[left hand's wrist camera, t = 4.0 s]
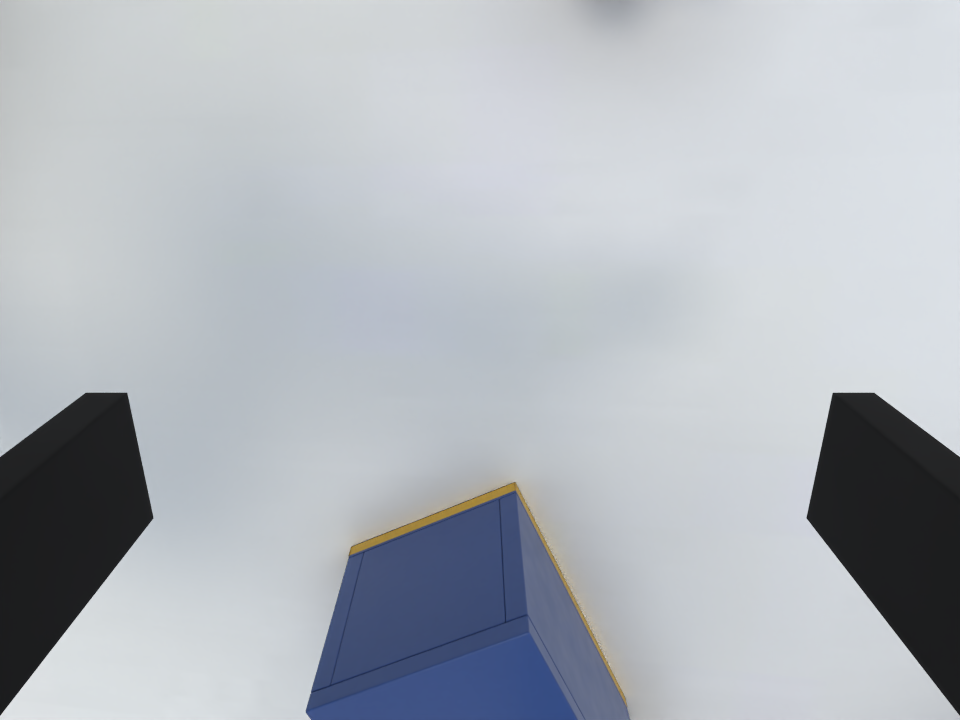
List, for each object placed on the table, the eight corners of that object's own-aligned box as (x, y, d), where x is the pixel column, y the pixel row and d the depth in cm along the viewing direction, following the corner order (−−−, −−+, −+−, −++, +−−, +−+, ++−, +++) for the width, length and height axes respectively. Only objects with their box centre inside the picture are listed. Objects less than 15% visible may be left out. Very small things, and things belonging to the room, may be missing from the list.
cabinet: (624, 696, 46) (671, 888, 35) (478, 745, 48) (478, 943, 37) (515, 482, 40) (529, 631, 29) (351, 546, 41) (304, 712, 30)
